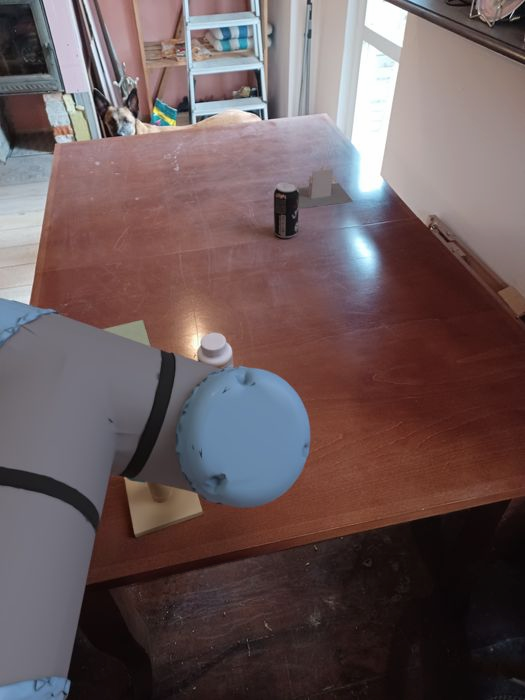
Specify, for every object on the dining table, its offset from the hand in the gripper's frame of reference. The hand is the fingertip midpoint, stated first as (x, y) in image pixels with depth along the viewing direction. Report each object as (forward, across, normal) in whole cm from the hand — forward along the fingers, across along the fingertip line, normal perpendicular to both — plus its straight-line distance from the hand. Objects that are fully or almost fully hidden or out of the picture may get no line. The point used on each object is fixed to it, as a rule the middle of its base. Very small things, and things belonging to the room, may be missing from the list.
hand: (131, 423), depth 59 cm
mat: (+29, +6, +11) cm, 31 cm away
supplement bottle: (+15, +18, -3) cm, 24 cm away
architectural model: (+44, +77, +26) cm, 92 cm away
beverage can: (+37, +57, +19) cm, 71 cm away
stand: (+7, 0, -12) cm, 13 cm away
